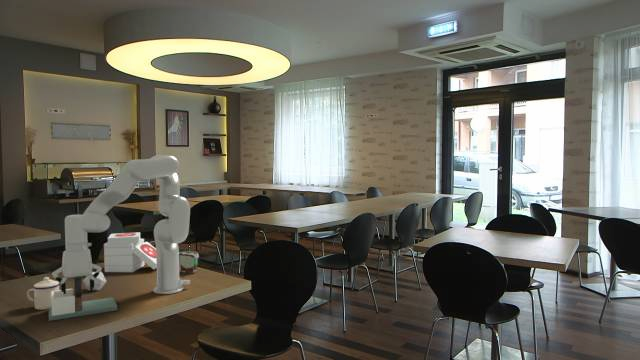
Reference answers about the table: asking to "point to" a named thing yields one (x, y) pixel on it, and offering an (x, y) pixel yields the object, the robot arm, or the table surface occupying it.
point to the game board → (66, 305)
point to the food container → (188, 261)
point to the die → (95, 282)
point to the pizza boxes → (128, 253)
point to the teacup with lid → (43, 293)
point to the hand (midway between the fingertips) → (78, 291)
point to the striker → (78, 293)
